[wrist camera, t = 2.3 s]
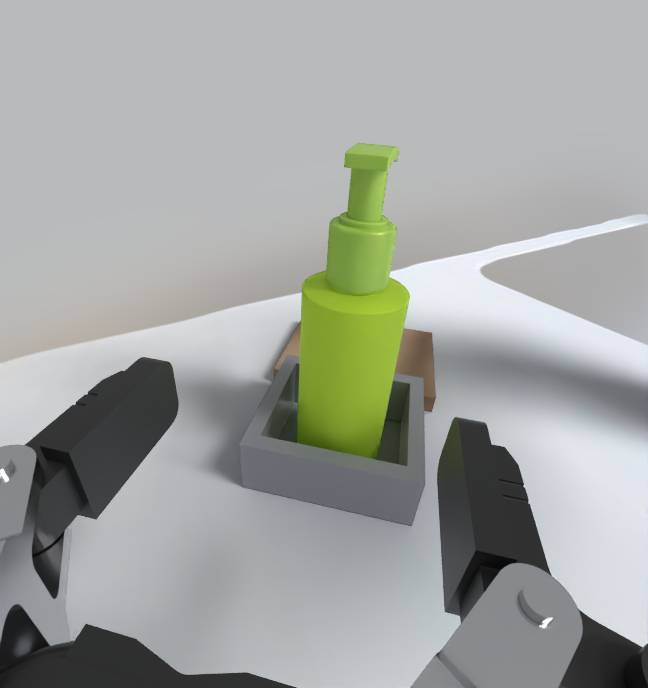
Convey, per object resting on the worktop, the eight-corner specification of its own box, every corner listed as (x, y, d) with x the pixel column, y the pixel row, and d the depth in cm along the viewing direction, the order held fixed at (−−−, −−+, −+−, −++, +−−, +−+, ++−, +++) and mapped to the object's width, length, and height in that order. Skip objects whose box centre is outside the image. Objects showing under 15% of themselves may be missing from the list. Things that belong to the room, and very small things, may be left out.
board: (428, 344, 41) (431, 332, 40) (431, 411, 32) (435, 398, 31) (304, 324, 43) (305, 313, 43) (273, 382, 34) (273, 368, 33)
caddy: (413, 416, 32) (423, 378, 29) (411, 525, 23) (425, 484, 21) (286, 392, 33) (287, 354, 31) (242, 486, 25) (238, 444, 23)
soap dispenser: (383, 424, 31) (439, 146, 20) (370, 496, 25) (438, 160, 14) (313, 408, 32) (330, 136, 21) (285, 474, 26) (288, 146, 15)
